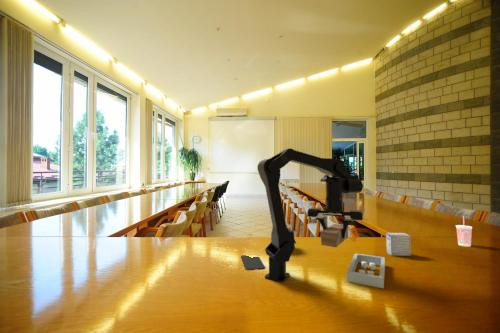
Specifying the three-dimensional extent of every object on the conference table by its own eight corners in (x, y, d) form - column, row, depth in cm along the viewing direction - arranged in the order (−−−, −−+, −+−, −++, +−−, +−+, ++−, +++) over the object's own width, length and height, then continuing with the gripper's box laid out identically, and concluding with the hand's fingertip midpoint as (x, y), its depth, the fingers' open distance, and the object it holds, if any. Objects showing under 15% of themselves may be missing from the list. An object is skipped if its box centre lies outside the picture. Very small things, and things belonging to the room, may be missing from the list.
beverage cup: (453, 244, 121) (452, 215, 122) (460, 242, 124) (459, 214, 124) (468, 247, 116) (467, 217, 116) (475, 246, 118) (474, 216, 119)
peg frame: (383, 288, 75) (383, 278, 75) (346, 281, 80) (346, 271, 80) (384, 265, 94) (384, 257, 94) (354, 260, 99) (354, 253, 99)
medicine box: (405, 253, 108) (405, 232, 108) (411, 256, 104) (410, 235, 104) (386, 252, 109) (385, 232, 109) (391, 256, 104) (390, 235, 105)
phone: (245, 269, 89) (240, 255, 104) (245, 271, 89) (240, 257, 104) (265, 267, 91) (257, 254, 105) (265, 270, 91) (257, 256, 105)
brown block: (336, 247, 83) (335, 233, 83) (321, 244, 86) (321, 231, 86) (347, 237, 95) (347, 225, 95) (334, 235, 98) (334, 224, 98)
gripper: (364, 193, 93) (365, 235, 93) (314, 191, 102) (314, 230, 102) (361, 195, 84) (363, 242, 83) (306, 194, 92) (307, 236, 92)
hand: (335, 237), depth 90 cm, fingers closed on brown block, 5 cm apart
